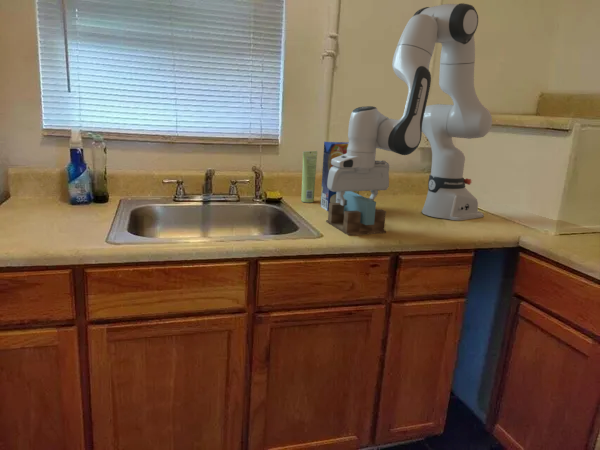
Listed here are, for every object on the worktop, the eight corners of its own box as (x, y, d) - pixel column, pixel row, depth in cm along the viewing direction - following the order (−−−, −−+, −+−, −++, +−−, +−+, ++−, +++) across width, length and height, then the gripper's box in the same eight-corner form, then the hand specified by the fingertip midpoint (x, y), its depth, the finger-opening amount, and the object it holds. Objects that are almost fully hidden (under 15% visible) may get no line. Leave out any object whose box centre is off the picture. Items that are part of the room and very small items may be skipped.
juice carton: (327, 211, 172) (331, 143, 166) (320, 206, 179) (323, 141, 173) (357, 210, 176) (363, 144, 170) (349, 205, 183) (354, 142, 176)
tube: (301, 199, 190) (304, 149, 184) (314, 200, 189) (317, 150, 184) (300, 202, 184) (302, 151, 179) (313, 203, 184) (316, 152, 179)
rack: (361, 219, 162) (362, 200, 161) (386, 232, 148) (388, 212, 146) (326, 221, 157) (327, 202, 156) (348, 235, 143) (350, 214, 141)
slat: (348, 211, 160) (349, 190, 158) (374, 224, 145) (376, 201, 143) (340, 211, 159) (341, 191, 157) (365, 225, 144) (367, 202, 142)
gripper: (384, 159, 154) (380, 201, 157) (326, 159, 146) (323, 203, 150) (395, 161, 148) (390, 205, 152) (335, 162, 141) (332, 208, 144)
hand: (357, 204), depth 151 cm, fingers open, 8 cm apart
